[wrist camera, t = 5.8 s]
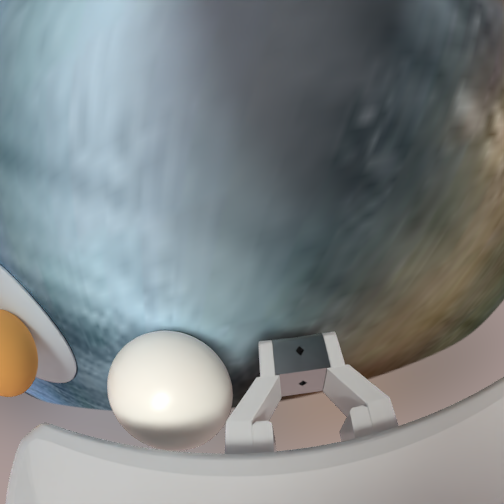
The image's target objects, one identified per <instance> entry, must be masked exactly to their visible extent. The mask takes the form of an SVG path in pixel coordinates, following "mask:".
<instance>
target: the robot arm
mask: <svg viewBox="0 0 504 504" xmlns="http://www.w3.org/2000/svg"><path fill="white" fill-rule="evenodd" d="M272 345H273V346H272ZM259 364H260V377H256V379H255V380H254V382H253V383H252V385H251V386H250V388H249V389H248V391H247V392H246V394H245V395H244V397H243V398H242V399H241V401H240V402H239V404H238V405H237V407H236V408H235V409H234V411H233V412H232V414H231V415H230V417H229V418H228V419H227V421H226V431H225V433H226V434H225V454H207V453H188V452H176V451H166V450H157V449H150V448H143V447H137V446H131V445H126V444H120V443H116V442H111V441H107V440H102V439H98V438H94V437H90V436H86V435H83V434H79V433H76V432H72V431H70V430H66V429H63V428H60V427H57V426H55V425H52V424H49V423H42V424H40V425H38V426H37V427H36V428H35V429H33V430H32V431H31V432H30V433H28V434H27V435H26V436H25V437H24V438H23V439H22V441H21V443H20V445H19V447H18V449H17V452H16V455H15V459H14V462H13V466H12V470H11V474H10V478H9V484H8V489H7V497H6V504H504V377H503V378H501V379H499V380H498V381H496V382H494V383H493V384H491V385H490V386H488V387H486V388H484V389H482V390H481V391H479V392H477V393H475V394H473V395H471V396H469V397H467V398H465V399H463V400H462V401H459V402H457V403H455V404H453V405H451V406H449V407H446V408H444V409H442V410H440V411H438V412H435V413H433V414H430V415H428V416H425V417H423V418H420V419H418V420H415V421H412V422H409V423H407V424H403V425H401V426H398V423H397V419H396V416H395V413H394V410H393V406H392V404H391V400H390V397H389V396H387V395H386V394H385V393H383V392H382V391H381V390H380V389H379V388H377V387H376V386H375V385H374V384H372V383H371V382H370V381H369V380H367V379H366V378H365V377H364V376H362V375H361V374H360V373H359V372H358V371H356V370H355V369H354V368H353V367H351V366H350V365H349V364H348V365H345V362H344V359H343V356H342V352H341V349H340V345H339V342H338V339H337V335H336V333H335V332H334V331H333V332H328V333H322V334H321V333H319V334H313V335H307V336H300V337H297V338H288V339H277V340H266V341H259ZM318 391H323V392H324V393H325V394H326V396H327V397H328V398H329V399H330V400H331V401H332V402H333V403H334V404H335V405H336V406H337V407H338V408H339V409H340V410H341V411H342V412H343V414H344V415H345V416H346V417H347V418H346V420H345V422H344V424H343V426H342V428H341V430H340V437H341V442H337V443H332V444H327V445H322V446H316V447H310V448H303V449H296V450H286V451H276V443H275V437H274V431H273V426H272V423H271V422H269V420H270V418H271V416H272V414H273V413H274V411H275V409H276V407H277V405H278V403H279V402H280V400H281V397H282V396H289V395H296V394H302V393H310V392H318Z"/></svg>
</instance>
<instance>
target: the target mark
mask: <svg viewBox="0 0 504 504" xmlns="http://www.w3.org/2000/svg"><path fill="white" fill-rule="evenodd" d="M0 309H2V310H5V311H8V312H10V313H12V314H13V315H15V316H16V317H18V318H19V319H20V320H21V321H22V322H23V323H24V324H25V326H26V327H27V328H28V330H29V331H30V333H31V335H32V337H33V339H34V342H35V345H36V348H37V353H38V369H37V374H36V377H37V378H40V379H42V380H46V381H49V382H55V383H65V382H68V381H70V380H72V379H73V378H74V376H75V374H76V369H77V367H76V361H75V358H74V355H73V353H72V351H71V348H70V346H69V345H68V343H67V341H66V340H65V338H64V336H63V335H62V334H61V332H60V331H59V329H58V328H57V326H56V325H55V324H54V322H53V321H52V320H51V319H50V317H49V316H48V315H47V313H46V312H45V311H44V310H43V309H42V307H41V306H40V305H39V304H38V303H37V302H36V300H35V299H34V298H33V297H32V296H31V295H30V294H29V293H28V291H27V290H26V289H25V288H24V287H23V286H22V285H21V284H20V283H19V282H18V281H17V280H16V279H15V278H14V277H13V276H12V275H11V274H10V273H9V272H8V271H7V270H6V269H5V268H4V267H3V266H1V265H0Z"/></svg>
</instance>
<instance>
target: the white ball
mask: <svg viewBox="0 0 504 504" xmlns="http://www.w3.org/2000/svg"><path fill="white" fill-rule="evenodd" d="M107 391H108V398H109V402H110V405H111V408H112V410H113V412H114V415H115V416H116V418H117V420H118V421H119V423H120V424H121V425H122V426H123V427H124V429H125V430H126V431H127V432H128V433H130V434H131V435H132V436H133V437H134V438H136V439H137V440H139V441H141V442H142V443H144V444H146V445H148V446H151V447H154V448H157V449H161V450H167V451H182V450H188V449H192V448H195V447H198V446H200V445H203V444H204V443H206V442H207V441H209V440H211V439H212V438H213V437H214V436H215V435H217V434H218V432H219V431H220V430H221V429H222V427H223V426H224V425H225V423H226V421H227V419H228V417H229V414H230V412H231V407H232V400H233V391H232V384H231V379H230V376H229V374H228V371H227V369H226V367H225V365H224V363H223V362H222V361H221V359H220V358H219V356H218V355H217V354H216V353H215V352H214V351H213V350H212V349H211V348H210V347H208V346H207V345H206V344H205V343H203V342H202V341H200V340H198V339H196V338H195V337H192V336H190V335H187V334H184V333H181V332H175V331H155V332H150V333H146V334H143V335H141V336H138V337H136V338H135V339H133V340H132V341H130V342H129V343H127V344H126V345H125V346H124V347H123V348H122V349H121V350H120V351H119V353H118V354H117V355H116V357H115V359H114V360H113V362H112V365H111V367H110V370H109V375H108V380H107Z"/></svg>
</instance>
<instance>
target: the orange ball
mask: <svg viewBox="0 0 504 504" xmlns="http://www.w3.org/2000/svg"><path fill="white" fill-rule="evenodd" d="M37 369H38V353H37V348H36V345H35V342H34V339H33V337H32V335H31V333H30V331H29V330H28V328H27V327H26V326H25V324H24V323H23V322H22V321H21V320H20V319H19V318H18V317H16V316H15V315H13V314H12V313H10V312H8V311H5V310H2V309H0V396H5V397H13V396H17V395H20V394H22V393H24V392H25V391H26V390H27V389H28V388H29V387H30V386H31V385H32V383H33V381H34V379H35V377H36V374H37Z"/></svg>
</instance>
